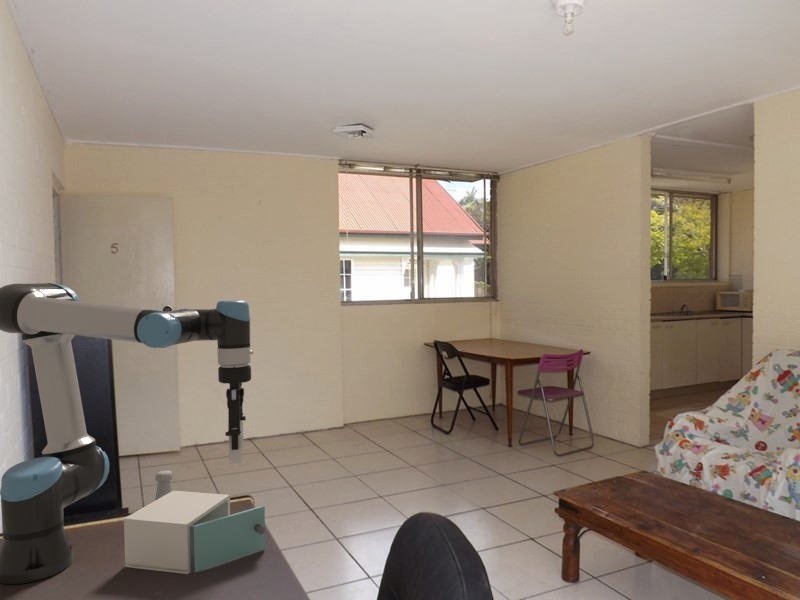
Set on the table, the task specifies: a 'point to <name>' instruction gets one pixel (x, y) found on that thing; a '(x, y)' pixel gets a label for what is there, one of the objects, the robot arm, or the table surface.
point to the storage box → (169, 529)
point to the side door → (226, 538)
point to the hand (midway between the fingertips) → (236, 455)
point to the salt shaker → (163, 483)
